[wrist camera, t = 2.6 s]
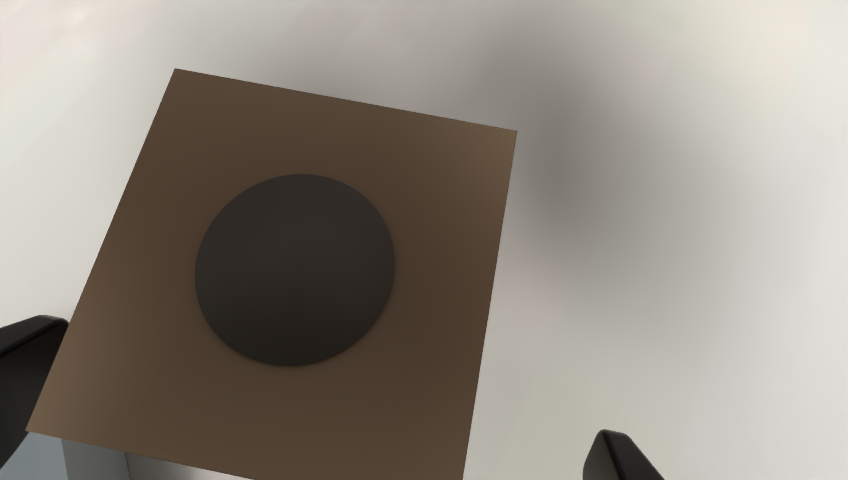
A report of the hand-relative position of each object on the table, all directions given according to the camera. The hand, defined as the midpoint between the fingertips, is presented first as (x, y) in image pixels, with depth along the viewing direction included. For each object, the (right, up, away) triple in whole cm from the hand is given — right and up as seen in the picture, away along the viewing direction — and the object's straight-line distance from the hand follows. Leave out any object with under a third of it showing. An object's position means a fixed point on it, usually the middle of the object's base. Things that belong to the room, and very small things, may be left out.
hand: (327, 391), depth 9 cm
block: (0, -2, +9) cm, 9 cm away
